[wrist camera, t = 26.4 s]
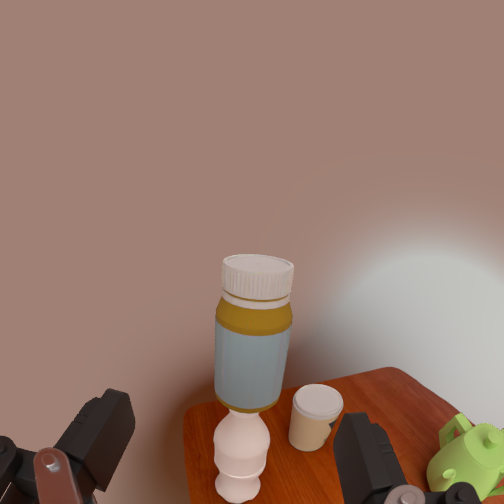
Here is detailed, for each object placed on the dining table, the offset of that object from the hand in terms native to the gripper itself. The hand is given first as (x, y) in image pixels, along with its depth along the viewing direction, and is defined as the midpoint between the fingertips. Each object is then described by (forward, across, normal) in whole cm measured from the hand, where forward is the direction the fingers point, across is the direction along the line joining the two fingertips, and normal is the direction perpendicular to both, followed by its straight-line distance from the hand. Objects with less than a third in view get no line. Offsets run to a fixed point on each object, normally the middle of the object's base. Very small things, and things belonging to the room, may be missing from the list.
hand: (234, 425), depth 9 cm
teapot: (+10, +41, -38) cm, 57 cm away
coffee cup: (+31, +13, -38) cm, 51 cm away
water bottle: (+17, 0, -38) cm, 42 cm away
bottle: (+16, 0, -13) cm, 21 cm away
